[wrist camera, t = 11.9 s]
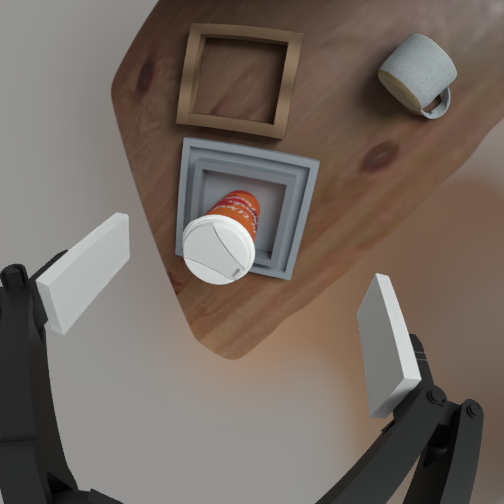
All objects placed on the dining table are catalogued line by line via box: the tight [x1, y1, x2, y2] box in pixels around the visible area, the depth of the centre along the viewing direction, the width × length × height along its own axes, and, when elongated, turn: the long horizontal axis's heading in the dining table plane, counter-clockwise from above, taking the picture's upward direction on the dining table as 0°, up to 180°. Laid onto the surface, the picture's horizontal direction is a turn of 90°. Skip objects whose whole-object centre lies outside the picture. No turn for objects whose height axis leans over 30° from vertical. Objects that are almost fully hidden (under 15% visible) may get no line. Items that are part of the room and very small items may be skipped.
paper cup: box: [182, 190, 260, 284], centre depth 36 cm, size 8×8×14 cm
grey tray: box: [175, 137, 320, 280], centre depth 41 cm, size 18×18×3 cm
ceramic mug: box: [378, 33, 457, 119], centre depth 27 cm, size 11×8×8 cm
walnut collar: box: [176, 24, 303, 139], centre depth 33 cm, size 14×14×2 cm
